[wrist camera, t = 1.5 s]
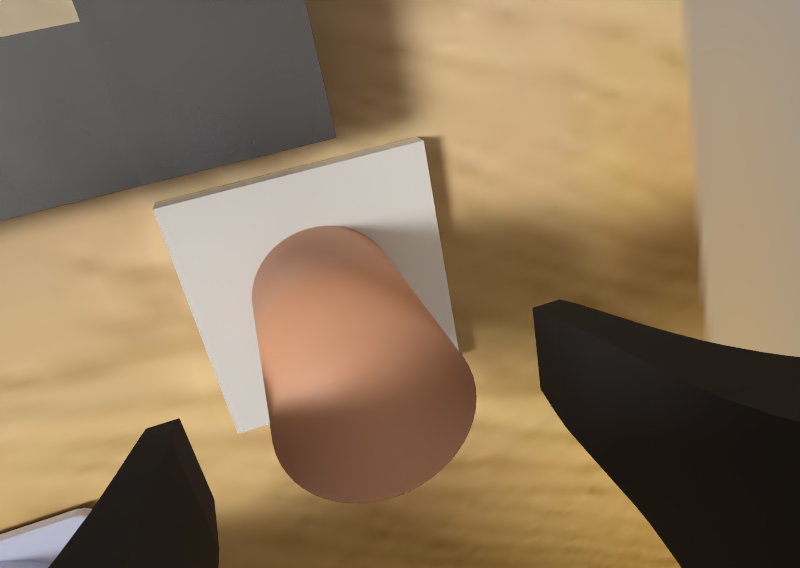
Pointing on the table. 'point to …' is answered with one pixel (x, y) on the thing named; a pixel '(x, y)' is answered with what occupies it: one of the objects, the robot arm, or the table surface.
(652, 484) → the robot arm
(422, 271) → the tile
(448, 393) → the peg
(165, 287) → the table surface
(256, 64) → the hole plate
